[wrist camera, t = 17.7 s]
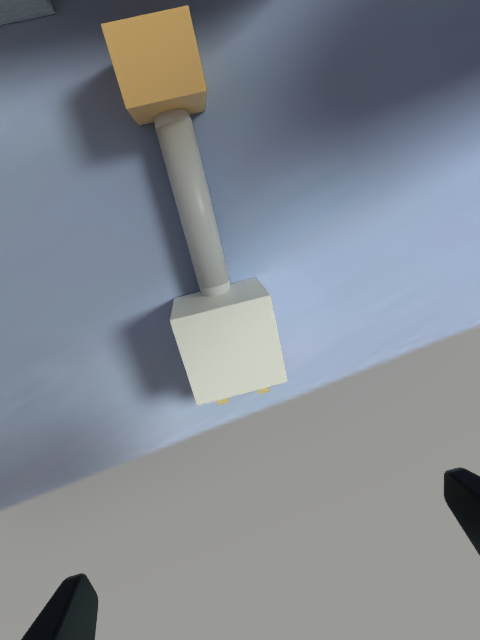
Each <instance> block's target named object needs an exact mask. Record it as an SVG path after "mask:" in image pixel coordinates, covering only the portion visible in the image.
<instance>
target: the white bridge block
mask: <svg viewBox="0 0 480 640" xmlns="http://www.w3.org/2000/svg"><path fill="white" fill-rule="evenodd" d="M52 14H55V11H54V8H53V5H52V2H51V0H0V25H3V24H8V23H13V22H18V21H23V20H28V19H33V18H37V17H42V16H47V15H52Z"/></svg>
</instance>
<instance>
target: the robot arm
mask: <svg viewBox="0 0 480 640" xmlns="http://www.w3.org/2000/svg"><path fill="white" fill-rule="evenodd" d="M444 497H445V500H446V503H447V505H448V506H449V508H450V509H451V511H452V512H453V514H454V516H455V517H456V519H457V520H458V522H459V524H460V525H461V527H462V528H463V530H464V531H465V533H466V535H467V536H468V538H469V539H470V541H471V543H472V544H473V546H474V547H475V549H476V550H477V552H478V554H479V555H480V476H478V475H476V474H474V473H472V472H470V471H468V470H466V469H464V468H455V469H451V470H448V471H446V472H445V473H444ZM97 610H98V597H97V594H96V591H95V590H94V588H93V586H92V585H91V583H90V581H89V579H88V578H87V576H86V575H85V574H77V575H74V576H70V577H68V578H66V579H65V580H64V581H63V582H62V583H61V585H60V586H59V587H58V589H57V590H56V592H55V593H54V595H53V596H52V597H51V599H50V600H49V602H48V603H47V604H46V606H45V607H44V609H43V610H42V611H41V613H40V614H39V616H38V617H37V618H36V620H35V621H34V622H33V624H32V625H31V627H30V628H29V629H28V631H27V632H26V634H25V635H24V636H23V638H22V639H21V640H95V630H96V621H97Z"/></svg>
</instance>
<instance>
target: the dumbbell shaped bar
mask: <svg viewBox="0 0 480 640" xmlns="http://www.w3.org/2000/svg"><path fill="white" fill-rule="evenodd" d="M101 27H102V30H103V33H104V37H105V40H106V44H107V47H108V50H109V54H110V57H111V60H112V64H113V67H114V70H115V74H116V77H117V80H118V84H119V87H120V90H121V94H122V97H123V100H124V104H125V107H126V110H127V111H128V112H129V113H130V115H131V116H132V117H133V119H134V120H135V121H136V123H137V124H138V125H139V126H141V125H146V124H150V123H154V122H155V129H156V133H157V137H158V140H159V144H160V148H161V151H162V155H163V159H164V162H165V166H166V169H167V173H168V177H169V180H170V184H171V188H172V191H173V195H174V198H175V202H176V206H177V209H178V213H179V216H180V220H181V224H182V227H183V231H184V235H185V238H186V242H187V245H188V249H189V253H190V256H191V260H192V263H193V267H194V271H195V274H196V278H197V282H198V285H199V288H200V291H201V292H197V293H193V294H189V295H185V296H181V297H177V298H174V302H173V307H172V312H171V317H170V323H171V326H172V329H173V332H174V335H175V339H176V342H177V345H178V348H179V351H180V354H181V357H182V360H183V363H184V366H185V370H186V373H187V376H188V379H189V382H190V385H191V388H192V391H193V394H194V398H195V401H196V404H197V406H198V405H202V404H206V403H210V402H213V401H217V404H218V405H220V404H224V403H228V402H229V399H228V398H229V397H232V396H236V395H240V394H244V393H247V392H251V391H255V390H257V391H258V394H262V393H265V392H269V391H270V390H269V387H270V386H274V385H278V384H281V383H285V382H287V376H286V371H285V366H284V361H283V356H282V351H281V346H280V341H279V336H278V331H277V326H276V321H275V316H274V311H273V305H272V300H271V295H270V294H269V293H268V291H267V290H266V289H265V287H264V286H263V285H262V284H261V282H260V281H259V280H258V279H257V278H253V279H249V280H245V281H241V282H237V283H233V284H230V278H229V274H228V270H227V265H226V261H225V257H224V253H223V249H222V244H221V240H220V236H219V232H218V228H217V224H216V219H215V215H214V211H213V207H212V203H211V199H210V194H209V190H208V186H207V182H206V178H205V173H204V169H203V165H202V161H201V157H200V153H199V148H198V144H197V140H196V136H195V132H194V128H193V123H192V120H191V117H190V115H189V114H194V113H198V112H203V111H205V105H206V96H207V88H206V83H205V79H204V74H203V70H202V65H201V61H200V56H199V51H198V47H197V42H196V38H195V33H194V29H193V24H192V19H191V15H190V10H189V6H188V5H186V6H182V7H177V8H172V9H168V10H163V11H158V12H154V13H149V14H144V15H140V16H135V17H130V18H126V19H121V20H116V21H112V22H107V23H102V24H101Z"/></svg>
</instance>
